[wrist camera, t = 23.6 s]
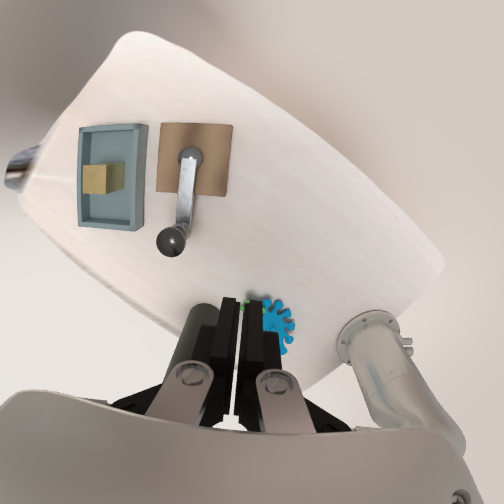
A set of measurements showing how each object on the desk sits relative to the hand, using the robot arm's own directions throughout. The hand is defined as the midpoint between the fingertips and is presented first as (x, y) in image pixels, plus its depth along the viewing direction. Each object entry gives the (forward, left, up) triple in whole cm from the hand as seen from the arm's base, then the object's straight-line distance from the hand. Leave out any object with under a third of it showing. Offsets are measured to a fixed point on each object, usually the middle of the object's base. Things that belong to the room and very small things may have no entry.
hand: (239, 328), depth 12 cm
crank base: (+9, -6, -31) cm, 33 cm away
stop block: (+22, -3, -30) cm, 38 cm away
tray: (+22, -3, -31) cm, 38 cm away
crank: (+9, -1, -29) cm, 30 cm away
